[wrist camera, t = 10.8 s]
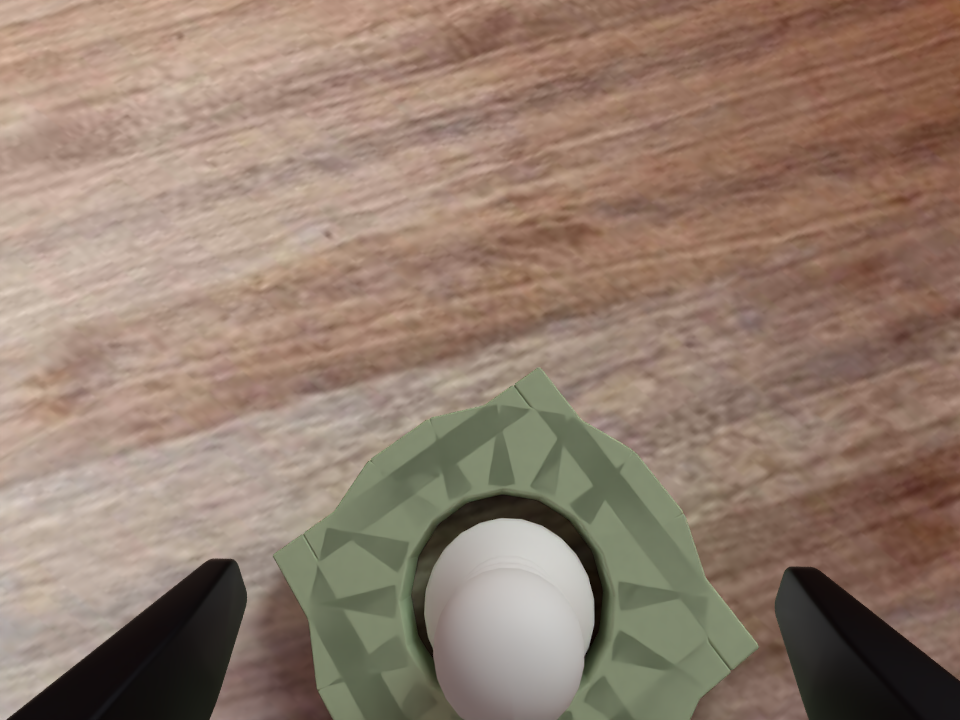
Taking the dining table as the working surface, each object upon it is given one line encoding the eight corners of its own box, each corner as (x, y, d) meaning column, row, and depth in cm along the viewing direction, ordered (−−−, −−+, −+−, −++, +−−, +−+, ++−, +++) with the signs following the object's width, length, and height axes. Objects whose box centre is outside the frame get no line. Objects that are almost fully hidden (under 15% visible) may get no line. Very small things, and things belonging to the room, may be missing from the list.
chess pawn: (426, 525, 19) (355, 519, 10) (576, 512, 18) (635, 493, 10) (435, 696, 17) (360, 861, 8) (599, 682, 17) (691, 835, 8)
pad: (462, 899, 16) (455, 950, 14) (267, 547, 19) (240, 549, 17) (766, 640, 17) (798, 654, 15) (540, 355, 20) (543, 337, 18)
